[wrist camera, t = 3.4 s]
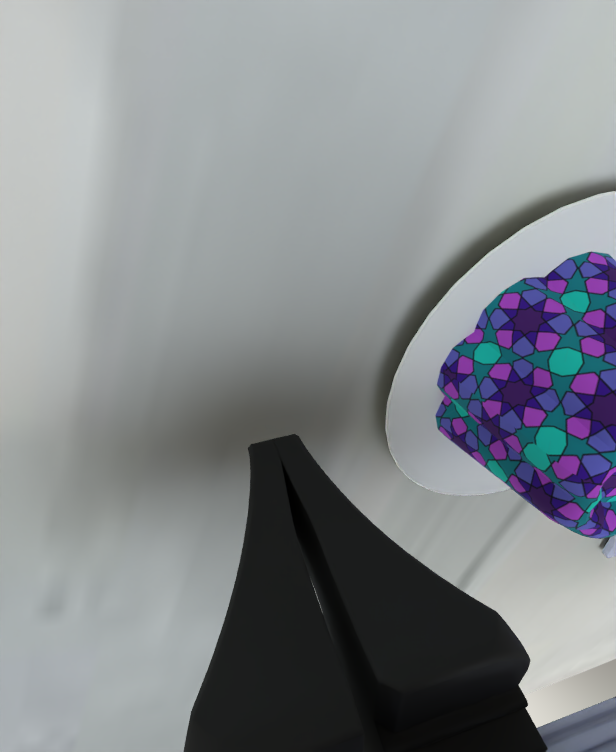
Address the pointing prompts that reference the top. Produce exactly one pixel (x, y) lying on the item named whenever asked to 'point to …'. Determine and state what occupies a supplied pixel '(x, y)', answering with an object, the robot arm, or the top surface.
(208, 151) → the top surface
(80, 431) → the top surface
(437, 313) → the pudding
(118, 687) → the top surface
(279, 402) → the top surface
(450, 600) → the robot arm
